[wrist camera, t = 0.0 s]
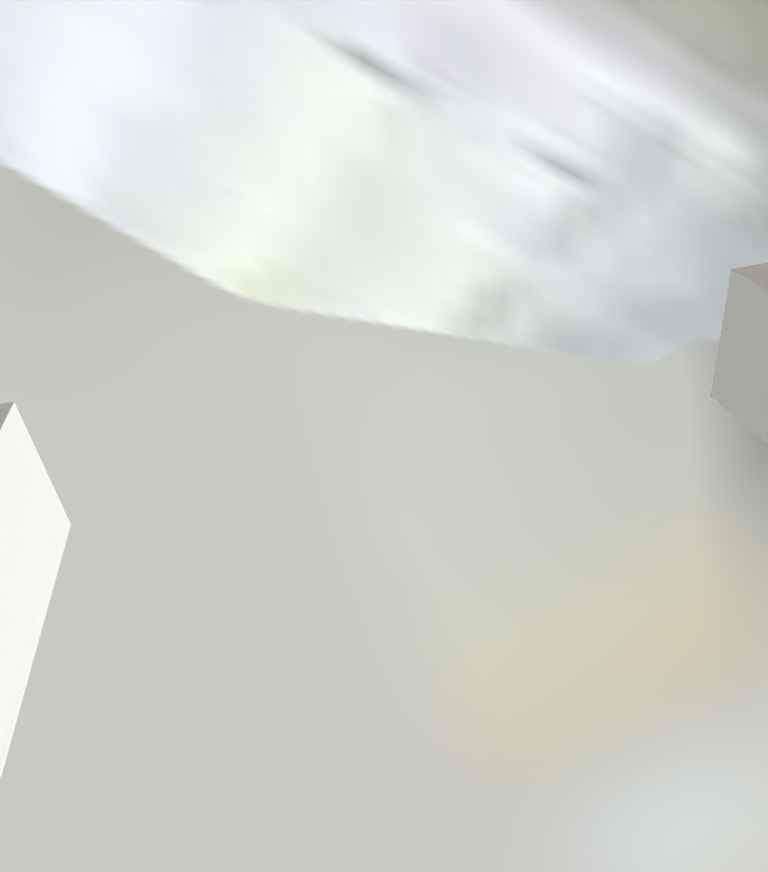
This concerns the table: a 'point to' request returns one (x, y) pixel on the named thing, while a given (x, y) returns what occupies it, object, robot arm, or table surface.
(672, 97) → the table surface
